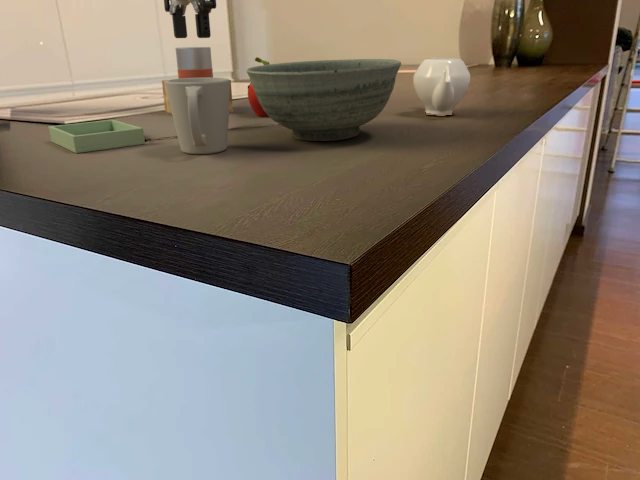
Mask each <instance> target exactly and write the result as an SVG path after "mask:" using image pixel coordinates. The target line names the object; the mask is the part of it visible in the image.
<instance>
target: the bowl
mask: <svg viewBox="0 0 640 480" xmlns="http://www.w3.org/2000/svg"><path fill="white" fill-rule="evenodd" d="M401 66H402V62H401V60H399V59H392V58H391V59H390V58H353V59H352V58H351V59H324V60H322V59H321V60H304V61H303V60H302V61H291V62H277V63H269V65H264V64H262V65H255V66H251V67H249V68H247V69H246V70H245V72H246V74H247V75H248V77H249V80H250V83H252V86H253V88H254V91H255V94H256V96H257V99H258V101H259V103H260V105H261V106H262V108H263V110H264V111H265V112H266V113H267V115H268V116H269V117H268V118H269V119H271V120H272V121H273V122H275V123H277V124H279V125H281V127H284V128H286V129H288V130H292V135H293V137H294V138H295V139H296V140H297V139H298V140H302V141H311V142H329V141H339V140H340V141H341V140H346V139H350V138H354V137H356V136H358V135H359V134H360V131H361V126H362V127H363V126H364V125H366V124H368V123H369V122H371V121H373V120H374V119H375V118H377V117H378V116H379V115H380V114H381V113H382V112H383V110H384V108H385V107H386V106H387V104H388V102H389V100H390V98H391V95H392V94H393V93H392V92H393V91H394V88H395V84H396V79H397V78H396V77H397V76H398V72H399V71H400V68H401Z"/></svg>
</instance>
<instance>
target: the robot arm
mask: <svg viewBox="0 0 640 480" xmlns="http://www.w3.org/2000/svg"><path fill="white" fill-rule="evenodd" d="M190 4H191V5H192V8H193V10H194V12H195V13H194V16H195V17H194V19H195V28H196V29H195V30H196V37H197V38H198V39H210V38H211V23H210V22H211V21H210V14H211V13H212V9H213V10H214V9H216V8H217V0H163V5H164V6H163V8H164V11H165V12H166V13H169V15H170V16H171V18H172V27H173V37H174V38H175V39H187V38H188V30H187V18H186V11H187V6H189V5H190Z"/></svg>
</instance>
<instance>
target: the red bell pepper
mask: <svg viewBox="0 0 640 480" xmlns="http://www.w3.org/2000/svg"><path fill="white" fill-rule="evenodd" d="M254 61H255V62H257V63H260V64H262V65H269V64H270V62H269V61H267V60H263V59H262V58H261V57H259V56H258V57H257V56H256V57H255V59H254ZM247 99H248V103H249V105H250V107H251V109H252V110H253V112H254V114H255V115H256V116H257V117H258V118H270V117H269V116H268V115H267V113H266V112H265V111H264V110H263V108H262V106H261V105H260V103H259V101H258V99H257V96H256V94H255V91H254V88H253V86H252V83H251V82H250V83H249V84H248V85H247Z"/></svg>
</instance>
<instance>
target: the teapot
mask: <svg viewBox="0 0 640 480" xmlns="http://www.w3.org/2000/svg"><path fill="white" fill-rule="evenodd" d="M412 77H413V78H412V82H413V83H412V84H413V89H414V93H415V94H416V96H417V98H418V100H419V101H420V102H421V103H422V105H423V107H424V109H425V110H424V113H425V112H426V113H431V114H445V113H451V112H453V111H454V109H455V107H457V105H458V104H460V102H461V101H462V100H463V99H464V98H465V96H466V94H467V92H468V90H469V88H470V85H471V80H472V79H471V78H472V77H471V73H470V71H469V69H468V66H467V65H466V63H465V62H464V60H463V59H461V58H458V57H443V56H432V57H431V58H429V57H428V58H424V59H423V60H422V62H421V63H420V64H419V66H418V68H417V69H416V70H415V72H414V74H413V76H412ZM453 113H454V112H453Z"/></svg>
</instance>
